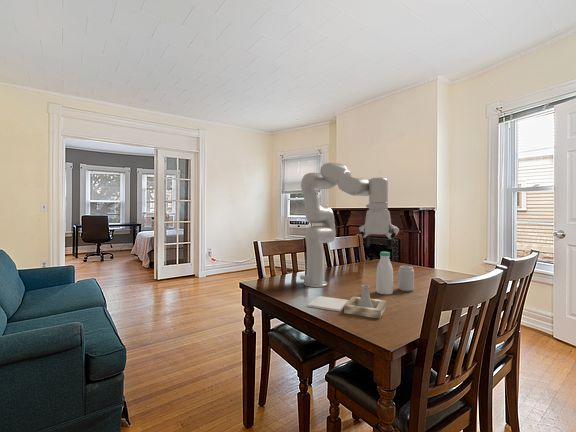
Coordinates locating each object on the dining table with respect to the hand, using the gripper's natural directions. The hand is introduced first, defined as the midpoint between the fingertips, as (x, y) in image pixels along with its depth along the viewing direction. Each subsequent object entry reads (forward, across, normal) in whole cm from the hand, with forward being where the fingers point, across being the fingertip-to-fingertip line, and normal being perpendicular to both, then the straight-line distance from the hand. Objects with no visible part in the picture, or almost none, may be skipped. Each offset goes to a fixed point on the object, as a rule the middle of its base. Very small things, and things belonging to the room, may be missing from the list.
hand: (378, 247), depth 131 cm
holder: (+25, -2, -8) cm, 26 cm away
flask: (+25, -2, -8) cm, 27 cm away
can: (+25, 0, +33) cm, 42 cm away
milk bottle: (+25, -6, +22) cm, 33 cm away
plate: (+25, -18, -11) cm, 32 cm away
